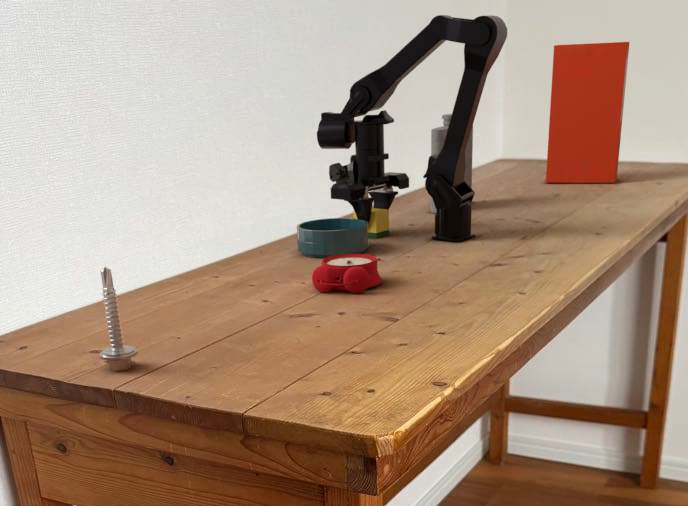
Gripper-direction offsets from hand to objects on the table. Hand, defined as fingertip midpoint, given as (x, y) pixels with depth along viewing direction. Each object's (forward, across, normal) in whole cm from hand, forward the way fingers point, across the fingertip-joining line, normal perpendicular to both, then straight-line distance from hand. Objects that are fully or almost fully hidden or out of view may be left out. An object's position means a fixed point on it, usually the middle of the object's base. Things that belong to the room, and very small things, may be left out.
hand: (371, 230), depth 195 cm
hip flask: (+1, -35, -5) cm, 35 cm away
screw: (+1, +86, +28) cm, 90 cm away
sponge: (+1, 0, 0) cm, 1 cm away
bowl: (+1, +16, +4) cm, 16 cm away
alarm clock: (+1, +37, +25) cm, 45 cm away
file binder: (+1, -83, +3) cm, 83 cm away
